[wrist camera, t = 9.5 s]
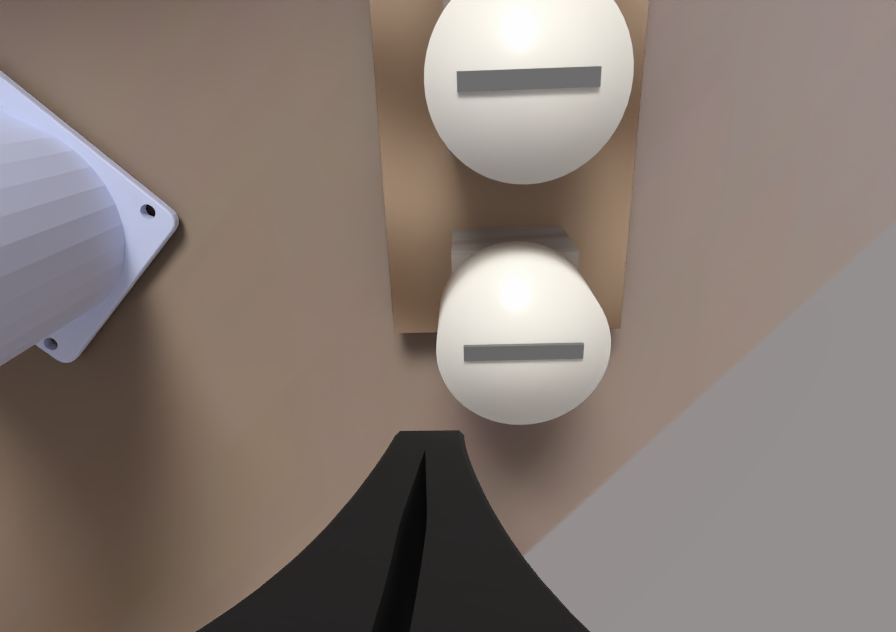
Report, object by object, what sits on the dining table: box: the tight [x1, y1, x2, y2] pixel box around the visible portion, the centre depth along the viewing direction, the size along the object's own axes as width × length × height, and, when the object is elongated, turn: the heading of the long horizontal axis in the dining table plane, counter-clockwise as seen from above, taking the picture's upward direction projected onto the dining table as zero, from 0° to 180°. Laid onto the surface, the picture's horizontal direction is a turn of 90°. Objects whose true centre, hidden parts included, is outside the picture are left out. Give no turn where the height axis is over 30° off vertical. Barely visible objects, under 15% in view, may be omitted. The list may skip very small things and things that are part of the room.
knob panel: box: [369, 0, 649, 333], centre depth 17 cm, size 17×8×4 cm, turn 2°
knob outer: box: [436, 241, 611, 425], centre depth 17 cm, size 4×4×6 cm
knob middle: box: [424, 0, 634, 184], centre depth 15 cm, size 4×4×6 cm
